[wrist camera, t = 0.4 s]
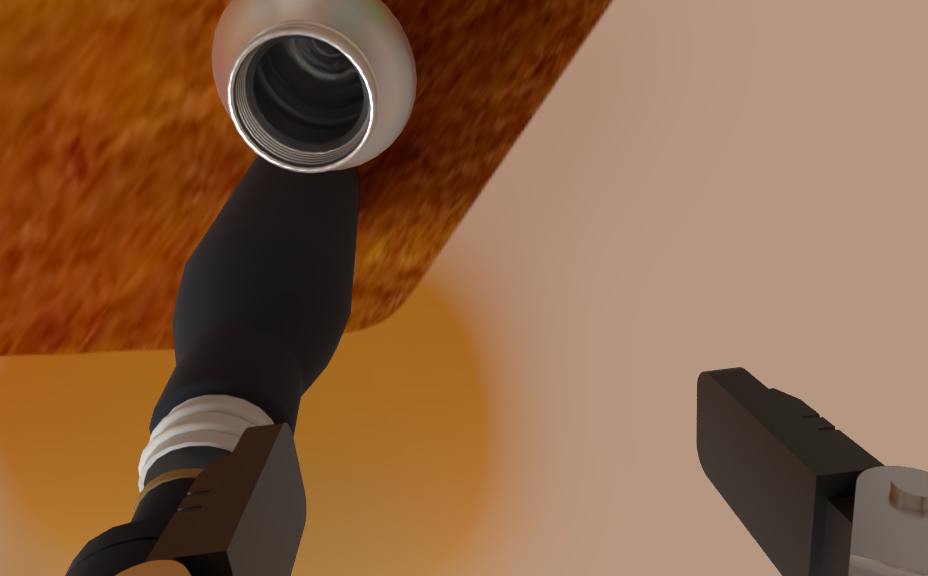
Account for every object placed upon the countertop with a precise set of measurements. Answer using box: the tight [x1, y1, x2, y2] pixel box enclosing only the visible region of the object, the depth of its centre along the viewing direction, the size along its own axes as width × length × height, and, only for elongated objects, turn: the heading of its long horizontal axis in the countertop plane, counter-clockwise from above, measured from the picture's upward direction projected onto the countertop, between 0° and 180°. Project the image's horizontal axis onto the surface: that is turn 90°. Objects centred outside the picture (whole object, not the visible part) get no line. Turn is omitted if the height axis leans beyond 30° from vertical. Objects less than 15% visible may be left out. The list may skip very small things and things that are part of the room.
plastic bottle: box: [212, 0, 417, 173], centre depth 24 cm, size 6×7×20 cm
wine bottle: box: [65, 155, 360, 576], centre depth 23 cm, size 6×6×30 cm
